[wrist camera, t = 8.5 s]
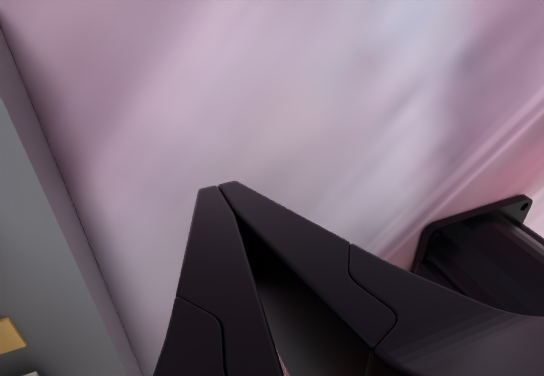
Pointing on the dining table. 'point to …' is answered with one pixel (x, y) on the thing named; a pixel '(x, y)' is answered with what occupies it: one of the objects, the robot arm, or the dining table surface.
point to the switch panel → (47, 259)
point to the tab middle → (32, 374)
